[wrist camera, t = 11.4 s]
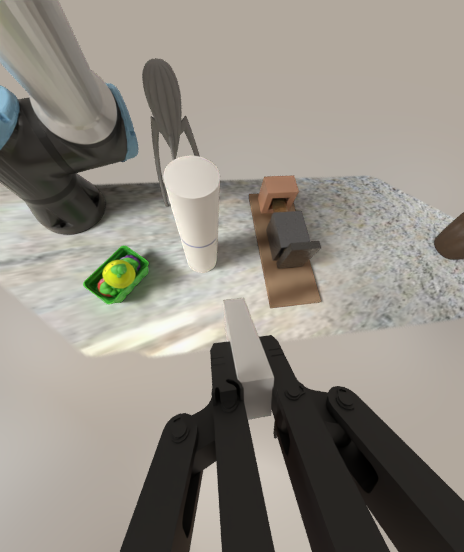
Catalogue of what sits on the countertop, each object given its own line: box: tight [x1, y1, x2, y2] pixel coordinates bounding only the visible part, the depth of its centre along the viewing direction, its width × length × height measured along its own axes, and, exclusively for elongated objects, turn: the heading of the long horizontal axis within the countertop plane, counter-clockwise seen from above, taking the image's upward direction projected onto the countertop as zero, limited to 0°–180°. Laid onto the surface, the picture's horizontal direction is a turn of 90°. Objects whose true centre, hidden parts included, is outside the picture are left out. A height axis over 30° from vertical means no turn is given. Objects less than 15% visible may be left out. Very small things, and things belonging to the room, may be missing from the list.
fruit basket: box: [83, 246, 149, 304], centre depth 40 cm, size 11×9×11 cm
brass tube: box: [271, 198, 321, 269], centre depth 46 cm, size 20×6×10 cm, turn 8°
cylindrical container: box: [163, 155, 220, 273], centre depth 37 cm, size 7×7×25 cm
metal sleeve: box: [266, 211, 310, 261], centre depth 47 cm, size 9×7×7 cm
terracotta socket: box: [258, 176, 299, 214], centre depth 51 cm, size 5×8×8 cm, turn 98°
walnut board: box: [249, 194, 321, 308], centre depth 51 cm, size 32×12×1 cm, turn 8°
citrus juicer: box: [142, 58, 200, 207], centre depth 39 cm, size 11×10×30 cm
